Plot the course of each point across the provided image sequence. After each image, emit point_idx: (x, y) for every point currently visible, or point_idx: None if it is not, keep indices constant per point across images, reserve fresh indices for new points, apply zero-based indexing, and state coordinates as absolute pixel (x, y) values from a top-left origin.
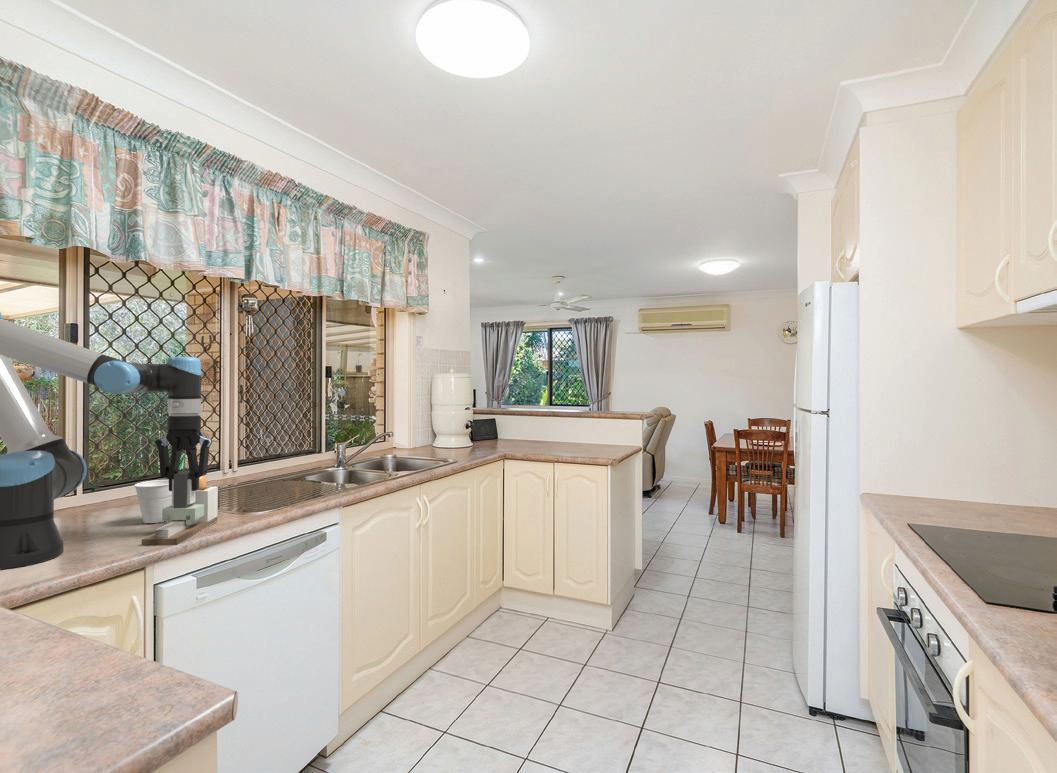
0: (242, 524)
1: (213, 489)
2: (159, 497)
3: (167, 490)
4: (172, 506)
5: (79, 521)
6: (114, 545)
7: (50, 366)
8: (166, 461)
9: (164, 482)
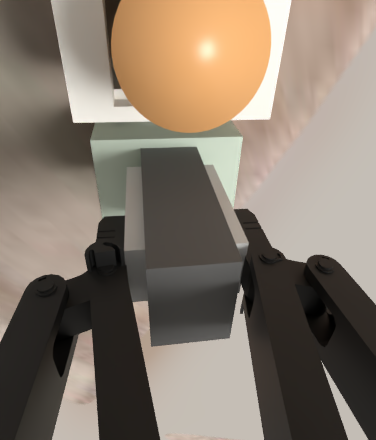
0: (341, 32)
1: (283, 24)
2: None
3: None
4: (116, 179)
5: None
6: (45, 254)
7: None
8: (42, 424)
9: None
